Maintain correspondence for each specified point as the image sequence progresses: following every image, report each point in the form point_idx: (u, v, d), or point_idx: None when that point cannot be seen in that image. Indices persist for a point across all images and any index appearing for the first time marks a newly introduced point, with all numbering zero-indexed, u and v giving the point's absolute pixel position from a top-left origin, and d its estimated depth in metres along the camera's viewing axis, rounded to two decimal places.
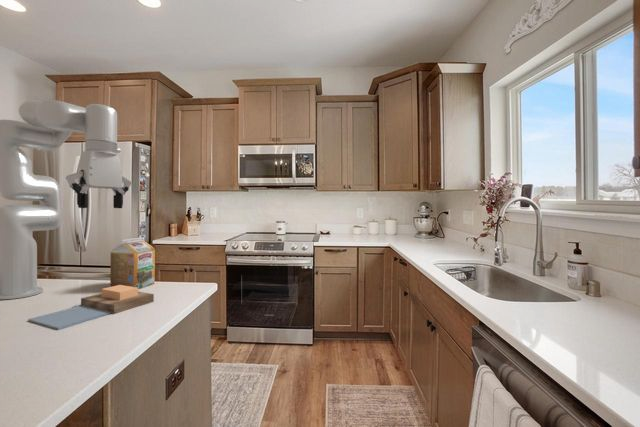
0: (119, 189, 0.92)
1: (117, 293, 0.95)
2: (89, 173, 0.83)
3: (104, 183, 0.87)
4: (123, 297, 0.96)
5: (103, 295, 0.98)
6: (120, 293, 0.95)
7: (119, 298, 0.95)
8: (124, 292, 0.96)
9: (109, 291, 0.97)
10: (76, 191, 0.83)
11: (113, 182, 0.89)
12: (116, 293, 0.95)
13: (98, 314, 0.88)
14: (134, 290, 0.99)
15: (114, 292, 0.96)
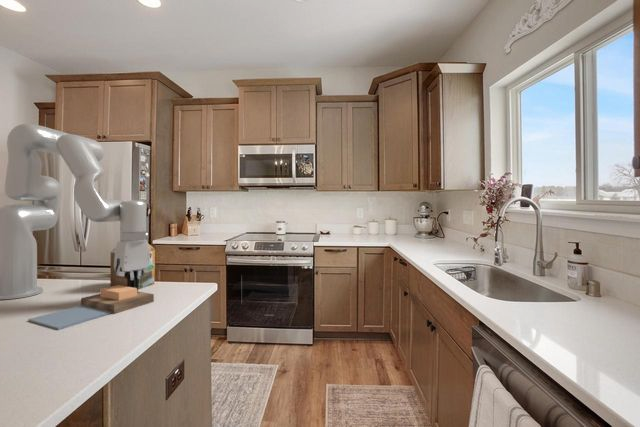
0: (139, 272, 1.04)
1: (116, 293, 0.95)
2: (124, 261, 0.98)
3: (136, 266, 1.02)
4: (122, 297, 0.95)
5: (102, 295, 0.97)
6: (119, 293, 0.94)
7: (118, 298, 0.94)
8: (123, 292, 0.96)
9: (108, 291, 0.96)
10: None
11: (143, 264, 1.04)
12: (115, 293, 0.95)
13: (98, 314, 0.88)
14: (133, 290, 0.99)
15: (113, 292, 0.95)
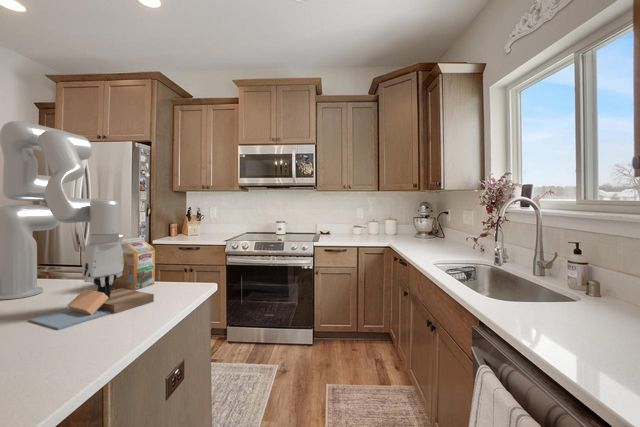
0: (111, 277, 0.95)
1: (84, 310, 0.86)
2: (93, 266, 0.90)
3: (107, 272, 0.93)
4: (93, 310, 0.88)
5: (73, 310, 0.90)
6: (87, 310, 0.86)
7: (90, 313, 0.87)
8: (91, 306, 0.87)
9: (76, 308, 0.88)
10: None
11: (115, 269, 0.95)
12: (83, 310, 0.87)
13: (98, 314, 0.88)
14: (101, 297, 0.89)
15: (81, 309, 0.87)
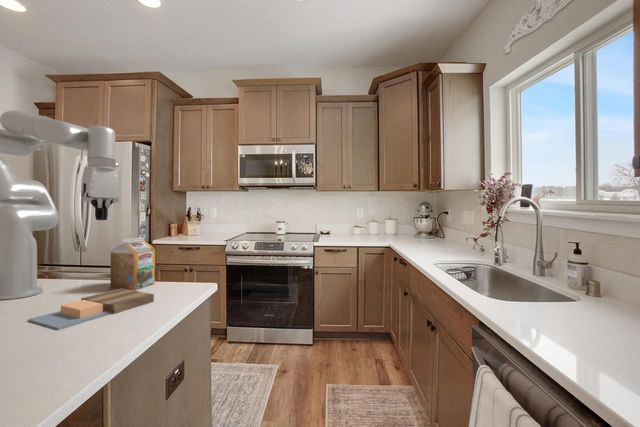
0: (107, 201, 1.01)
1: (77, 311, 0.85)
2: (91, 186, 0.96)
3: (104, 194, 1.00)
4: (84, 315, 0.85)
5: (62, 313, 0.87)
6: (80, 311, 0.84)
7: (79, 316, 0.84)
8: (85, 309, 0.85)
9: (69, 308, 0.86)
10: (95, 208, 0.99)
11: (112, 193, 1.02)
12: (76, 310, 0.85)
13: (98, 314, 0.88)
14: (98, 306, 0.89)
15: (74, 309, 0.85)
